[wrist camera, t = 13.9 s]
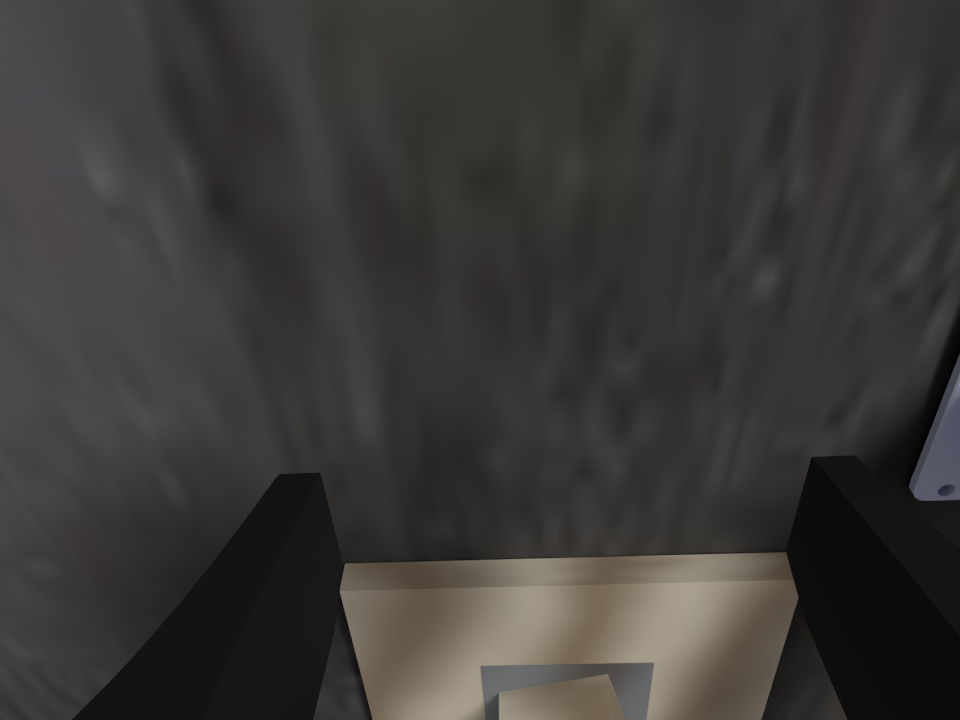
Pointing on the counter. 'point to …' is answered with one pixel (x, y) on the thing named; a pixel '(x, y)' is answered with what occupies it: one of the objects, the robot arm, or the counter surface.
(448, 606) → the birch board
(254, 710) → the robot arm
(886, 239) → the counter surface
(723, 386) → the counter surface
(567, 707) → the block stack
